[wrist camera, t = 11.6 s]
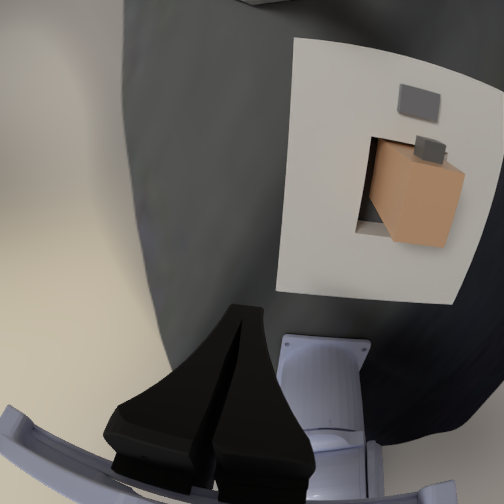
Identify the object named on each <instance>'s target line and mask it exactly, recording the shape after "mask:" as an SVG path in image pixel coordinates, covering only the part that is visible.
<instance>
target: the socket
mask: <svg viewBox="0 0 504 504" xmlns="http://www.w3.org/2000/svg"><path fill="white" fill-rule="evenodd" d="M416 135H418V136H422V137H426V138H430V139H434V140H437V141H439V142H441V143H443V144H445V145H446V150H445V156H444V160H445V161H447V162H448V163H450V164H451V165H453V166H454V167H456V168H457V169H459V170H460V171H462V172H463V173H465V178H464V182H463V186H462V190H461V194H460V197H459V201H458V205H457V208H456V212H455V215H454V218H453V222H452V225H451V228H450V231H449V234H448V237H447V240H446V243H445V246H444V248H441V247H433V246H425V245H417V244H409V243H401V242H393V240H392V238H391V236H390V234H389V232H388V230H387V228H386V227H385V225H384V224H383V223H376V222H368V221H360V220H358V215H359V210H360V204H361V199H362V193H363V187H364V182H365V176H366V169H367V163H368V156H369V149H370V142H371V136H372V137H378V138H383V139H389V140H394V141H399V142H404V143H409V144H413V145H415V141H416ZM503 156H504V92H502V91H500V90H498V89H496V88H494V87H491V86H489V85H487V84H485V83H482V82H480V81H478V80H475V79H473V78H470V77H468V76H465V75H463V74H460V73H457V72H454V71H452V70H449V69H446V68H443V67H440V66H437V65H434V64H431V63H428V62H424V61H421V60H417V59H414V58H410V57H407V56H403V55H399V54H395V53H391V52H386V51H382V50H377V49H373V48H368V47H362V46H357V45H351V44H345V43H338V42H331V41H323V40H315V39H305V38H294V49H293V70H292V90H291V107H290V124H289V139H288V154H287V168H286V181H285V194H284V206H283V218H282V230H281V241H280V252H279V263H278V273H277V283H276V291H282V292H292V293H302V294H313V295H324V296H335V297H347V298H359V299H372V300H386V301H401V302H417V303H434V304H453V302H454V300H455V298H456V295H457V293H458V291H459V289H460V287H461V285H462V282H463V280H464V278H465V275H466V273H467V271H468V268H469V266H470V264H471V261H472V259H473V256H474V254H475V251H476V248H477V246H478V243H479V240H480V238H481V235H482V232H483V229H484V226H485V223H486V220H487V217H488V214H489V210H490V207H491V204H492V200H493V197H494V193H495V190H496V186H497V182H498V178H499V174H500V170H501V165H502V161H503Z"/></svg>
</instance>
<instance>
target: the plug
mask: <svg viewBox="0 0 504 504" xmlns="http://www.w3.org/2000/svg"><path fill="white" fill-rule="evenodd" d="M445 150H446V145H445V144H443V143H441V142H439V141H437V140H434V139H430V138H426V137H422V136H418V135H416V141H415V145H413V144H409V143H404V142H399V141H394V140H389V139H383V138H378V144H377V151H376V158H375V164H374V170H373V176H372V182H371V188H370V193H369V198H370V199H371V201H372V203H373V205H374V206H375V208H376V210H377V212H378V214H379V215H380V217H381V219H382V221H383V223H384V225H385V227H386V228H387V230H388V232H389V234H390V236H391V238H392V240H393V242H401V243H409V244H417V245H425V246H433V247H441V248H444V246H445V243H446V240H447V237H448V234H449V231H450V228H451V225H452V222H453V218H454V215H455V212H456V208H457V205H458V201H459V197H460V194H461V190H462V186H463V182H464V178H465V173H463V172H462V171H460V170H459V169H457V168H456V167H454V166H453V165H451V164H450V163H448V162H447V161H445V160H444V156H445Z"/></svg>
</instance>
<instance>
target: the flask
mask: <svg viewBox="0 0 504 504" xmlns="http://www.w3.org/2000/svg"><path fill="white" fill-rule="evenodd" d="M240 1H243V2H245V3H248V4H251V5H256V4H263V3H271V2H279V1H289V0H240Z"/></svg>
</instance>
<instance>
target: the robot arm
mask: <svg viewBox="0 0 504 504" xmlns="http://www.w3.org/2000/svg"><path fill="white" fill-rule="evenodd" d="M263 314H264V309H263V308H262V307H254V306H245V305H237V304H231V305H230V306H229V307H228V309H227V311H226V312H225V314H224V315H223V317H222V318H221V320H220V321H219V322H218V324H217V325H216V327H215V328H214V329H213V330H212V332H211V333H210V334H209V335H208V337H207V338H206V339H205V340H204V341H203V342H202V343H201V345H200V346H199V347H198V348H197V349H196V350H195V351H194V352H193V353H192V354H191V355H190V356H189V357H188V358H187V359H186V360H185V361H184V362H183V363H182V364H181V365H180V366H178V367H177V368H176V369H175V370H174V371H172V372H171V373H170V374H169V375H167V376H166V377H165V378H163V379H162V380H161V381H159V382H158V383H157V384H155V385H153V386H152V387H150V388H149V389H147V390H146V391H144V392H143V393H141V394H139V395H137V396H135V397H133V398H132V399H130V400H128V401H126V402H124V403H122V404H120V405H118V406H117V408H116V409H115V411H114V413H113V414H112V416H111V417H110V420H109V422H108V424H107V426H106V428H105V430H104V433H103V437H104V439H105V440H106V442H108V444H109V445H110V446H111V447H112V448H113V449H114V450H115V451H116V452H117V453H116V456H115V458H114V461H113V462H112V461H110V460H107V459H104V458H102V457H100V456H97V455H95V454H93V453H90V452H88V451H86V450H84V449H81V448H79V447H77V446H75V445H73V444H71V443H69V442H66V441H65V440H63V439H61V438H59V437H57V436H55V435H53V434H51V433H49V432H47V431H46V430H43V429H42V428H40V427H38V426H37V425H35V424H34V423H33V422H32V421H31V419H30V418H28V417H27V416H26V415H25V414H23V413H22V412H20V411H19V410H17V409H15V408H14V407H12V406H11V405H7V407H6V409H5V410H4V412H3V414H2V416H1V417H0V454H1V455H2V456H4V457H5V458H7V459H8V460H9V461H10V462H12V463H13V464H15V465H16V466H17V467H19V468H20V469H22V470H23V471H25V472H26V473H28V474H29V475H30V476H32V477H33V478H35V479H37V480H38V481H40V482H41V483H43V484H44V485H46V486H48V487H49V488H51V489H53V490H54V491H56V492H58V493H60V494H62V495H63V496H65V497H67V498H69V499H71V500H72V501H75V502H76V503H79V504H166V503H163V502H159V501H155V500H152V499H148V498H145V497H142V496H141V495H139V494H137V493H136V492H135V491H133V489H132V488H131V487H128V486H126V485H124V484H127V485H130V486H133V487H136V488H139V489H142V490H145V491H148V492H151V493H154V494H157V495H161V496H164V497H168V498H172V499H175V500H179V501H183V502H187V503H191V504H458V503H457V493H456V485H455V481H454V480H449V481H445V482H441V483H436V484H432V485H429V486H426V487H424V488H422V489H420V490H419V491H418V492H412V493H407V494H400V495H393V496H385V497H384V475H383V474H384V473H383V459H382V446H380V445H379V444H377V443H376V442H375V441H374V440H372V441H368V442H367V444H366V438H365V433H364V419H363V407H362V396H361V386H360V377H359V371H360V369H361V367H362V365H363V363H364V360H365V358H366V356H367V354H368V352H369V349H370V347H371V342H370V341H369V340H362V339H344V338H329V337H316V336H304V335H293V334H286V335H284V336H283V338H282V345H281V351H280V358H279V364H278V370H277V376H276V375H275V372H274V369H273V366H272V363H271V359H270V356H269V352H268V348H267V343H266V339H265V333H264V325H263ZM363 348H364V349H363ZM113 479H114V480H113ZM115 480H117V481H119V482H117V481H115ZM214 480H215V481H216V484H217V487H218V491H214V490H212V489H213V485H214ZM120 482H122V483H124V484H122V483H120Z"/></svg>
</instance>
